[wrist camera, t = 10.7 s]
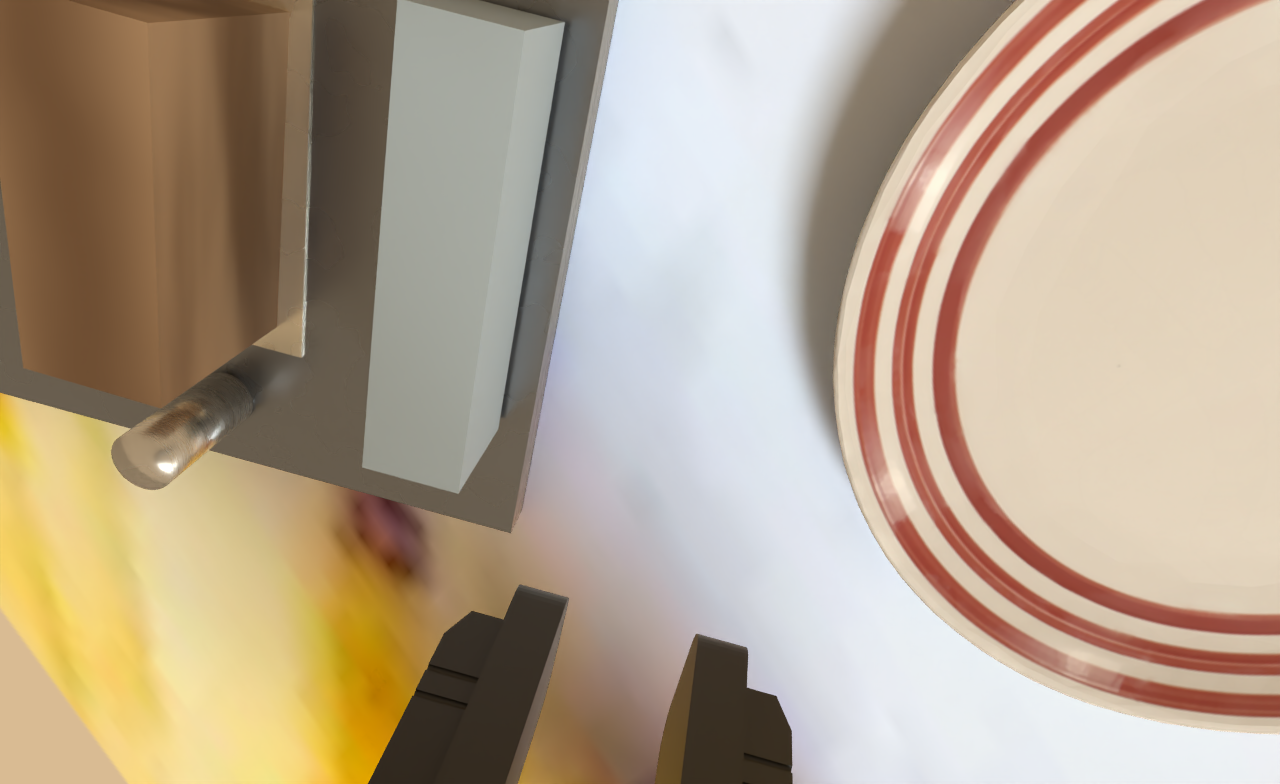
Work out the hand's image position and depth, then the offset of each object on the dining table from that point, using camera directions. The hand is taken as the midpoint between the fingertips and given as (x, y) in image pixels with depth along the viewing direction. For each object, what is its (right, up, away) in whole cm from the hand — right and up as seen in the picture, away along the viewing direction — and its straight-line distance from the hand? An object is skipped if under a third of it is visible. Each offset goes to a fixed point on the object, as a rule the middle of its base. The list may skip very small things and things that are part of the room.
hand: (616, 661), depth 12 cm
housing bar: (-5, +9, +14) cm, 17 cm away
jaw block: (-13, +11, +14) cm, 22 cm away
